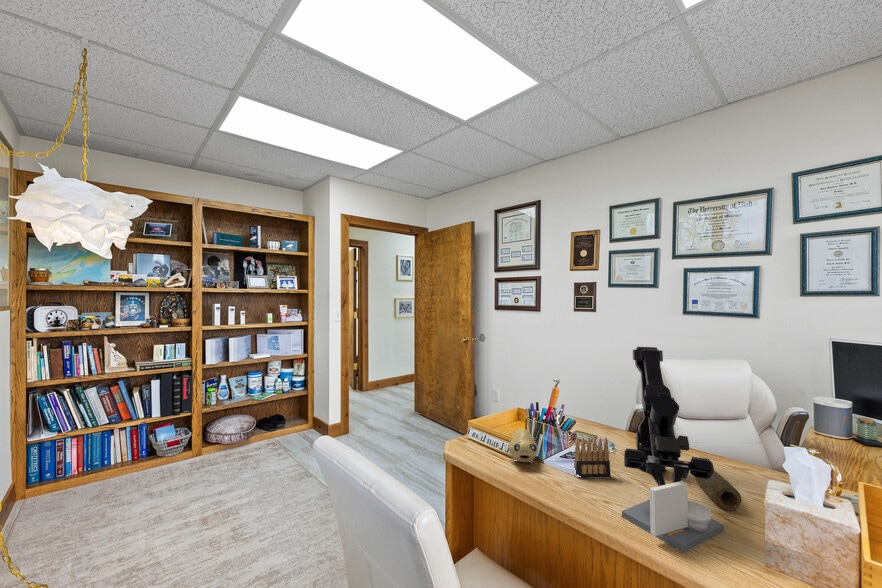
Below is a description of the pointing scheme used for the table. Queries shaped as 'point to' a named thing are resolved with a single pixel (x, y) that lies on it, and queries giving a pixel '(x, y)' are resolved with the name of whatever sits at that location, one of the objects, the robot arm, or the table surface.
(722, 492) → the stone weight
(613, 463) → the table surface
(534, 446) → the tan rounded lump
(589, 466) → the ammunition clip
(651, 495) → the white piece
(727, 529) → the table surface
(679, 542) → the base board
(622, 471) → the table surface
